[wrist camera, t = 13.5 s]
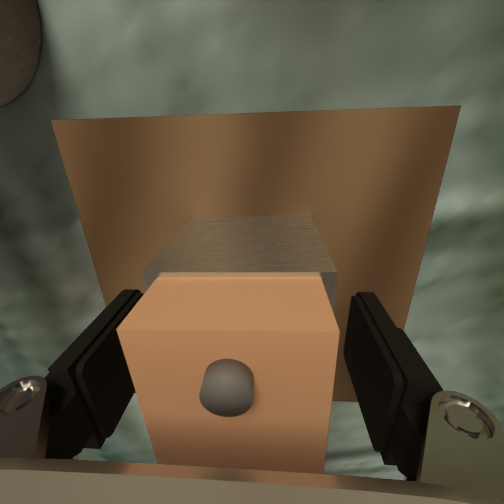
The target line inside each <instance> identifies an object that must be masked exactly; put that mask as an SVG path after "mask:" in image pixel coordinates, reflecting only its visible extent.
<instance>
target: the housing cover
mask: <svg viewBox="0 0 504 504" xmlns="http://www.w3.org/2000/svg"><path fill="white" fill-rule="evenodd" d="M116 330H117V333H118V336H119V339H120V343H121V346H122V349H123V352H124V356H125V359H126V362H127V365H128V368H129V372H130V375H131V378H132V381H133V385H134V388H135V391H136V394H137V397H138V401H139V404H140V407H141V410H142V413H143V417H144V420H145V423H146V426H147V430H148V433H149V436H150V439H151V442H152V446H153V449H154V452H155V455H156V459H157V462H158V464H165V465H182V466H199V467H216V468H233V469H249V470H265V471H281V472H296V473H312V474H323V473H324V464H325V455H326V447H327V438H328V429H329V421H330V412H331V403H332V395H333V386H334V377H335V369H336V360H337V351H338V343H339V334H340V331H339V328H338V325H337V322H336V319H335V316H334V314H333V311H332V308H331V305H330V302H329V299H328V296H327V293H326V291H325V288H324V285H323V282H322V279H321V277H226V278H156V280H155V281H154V282H153V283H152V285H151V286H150V287H149V289H148V290H147V291H146V292H145V294H144V295H143V296H142V297H141V299H140V300H139V301H138V302H137V304H136V305H135V306H134V308H133V309H132V310H131V311H130V313H129V314H128V315H127V316H126V318H125V319H124V320H123V321H122V323H121V324H120V325H119V327H118V328H117V329H116Z"/></svg>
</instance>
